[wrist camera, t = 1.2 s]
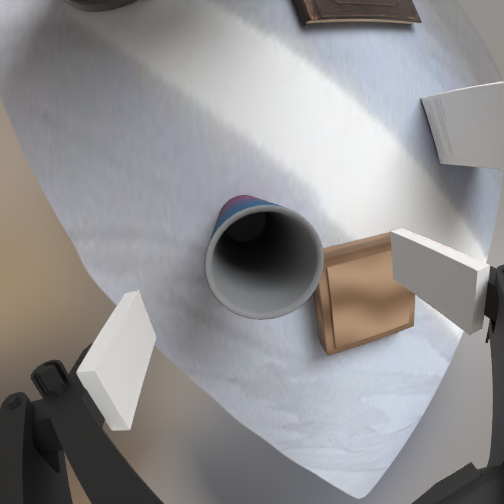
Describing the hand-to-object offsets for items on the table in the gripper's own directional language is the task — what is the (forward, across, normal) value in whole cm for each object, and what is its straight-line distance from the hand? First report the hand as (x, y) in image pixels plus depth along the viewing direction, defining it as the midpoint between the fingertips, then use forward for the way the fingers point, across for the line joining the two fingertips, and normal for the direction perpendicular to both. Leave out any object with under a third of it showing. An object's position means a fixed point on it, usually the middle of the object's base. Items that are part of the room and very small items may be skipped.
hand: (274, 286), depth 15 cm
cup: (+18, 0, 0) cm, 18 cm away
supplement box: (+18, +29, +7) cm, 35 cm away
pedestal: (+18, +12, -11) cm, 24 cm away
